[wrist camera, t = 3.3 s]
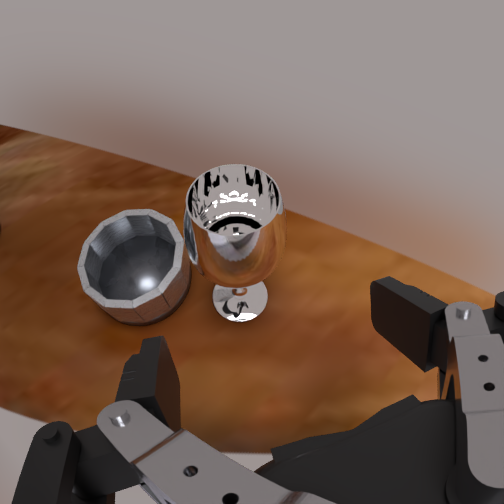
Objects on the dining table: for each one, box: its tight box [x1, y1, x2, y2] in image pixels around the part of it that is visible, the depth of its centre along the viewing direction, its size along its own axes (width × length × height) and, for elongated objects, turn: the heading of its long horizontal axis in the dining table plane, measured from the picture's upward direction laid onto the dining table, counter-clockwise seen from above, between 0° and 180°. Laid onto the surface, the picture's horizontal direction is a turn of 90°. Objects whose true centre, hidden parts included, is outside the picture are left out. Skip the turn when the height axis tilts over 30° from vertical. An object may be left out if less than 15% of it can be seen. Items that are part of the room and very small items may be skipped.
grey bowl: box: [77, 209, 191, 326], centre depth 25 cm, size 9×9×4 cm
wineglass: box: [184, 164, 287, 322], centre depth 21 cm, size 6×6×12 cm
